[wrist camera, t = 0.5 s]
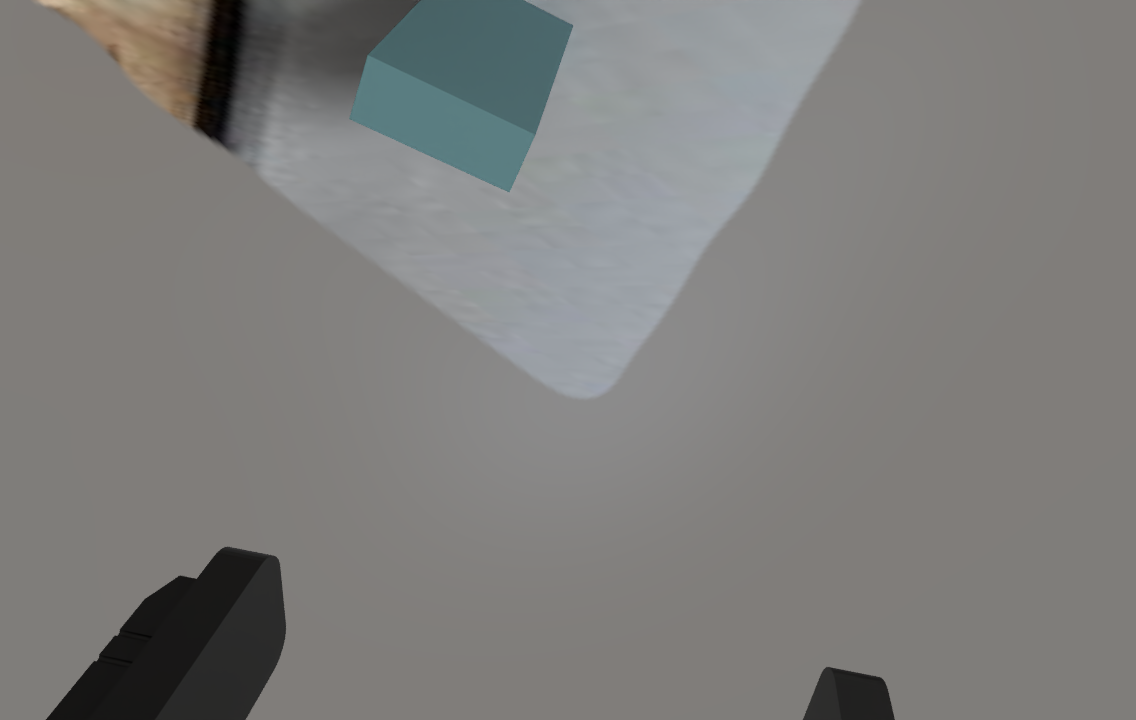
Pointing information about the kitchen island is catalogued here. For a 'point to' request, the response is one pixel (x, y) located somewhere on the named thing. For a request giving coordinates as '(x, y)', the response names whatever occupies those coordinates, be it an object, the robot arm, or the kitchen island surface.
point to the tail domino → (464, 82)
